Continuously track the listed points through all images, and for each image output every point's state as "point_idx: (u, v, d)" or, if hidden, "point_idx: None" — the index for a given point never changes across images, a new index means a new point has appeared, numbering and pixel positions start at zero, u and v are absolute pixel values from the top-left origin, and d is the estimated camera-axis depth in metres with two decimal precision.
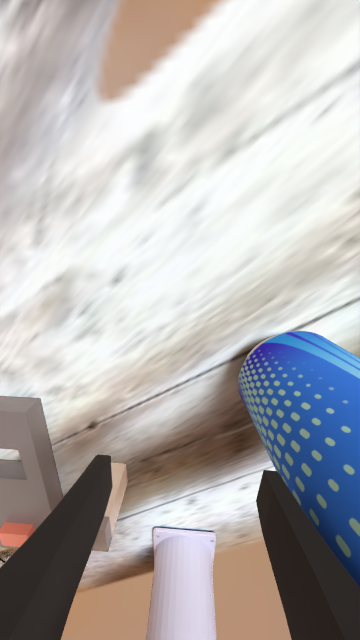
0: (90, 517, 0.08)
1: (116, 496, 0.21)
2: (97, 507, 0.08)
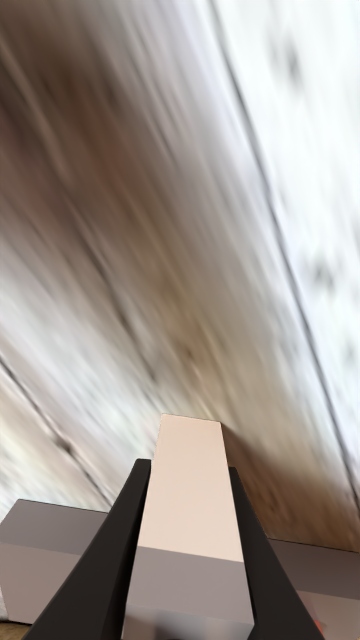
0: (139, 522, 0.08)
1: (158, 478, 0.07)
2: (143, 512, 0.08)
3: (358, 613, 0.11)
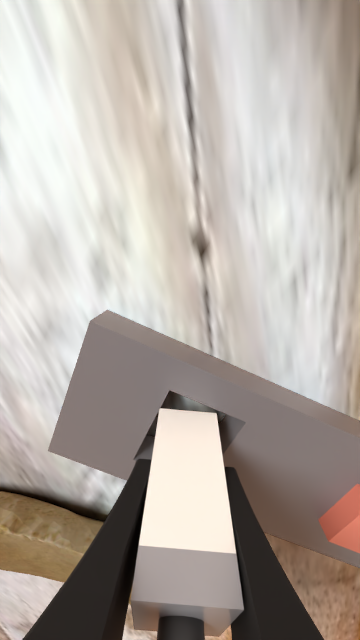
0: (140, 522, 0.08)
1: (157, 477, 0.08)
2: None
3: None
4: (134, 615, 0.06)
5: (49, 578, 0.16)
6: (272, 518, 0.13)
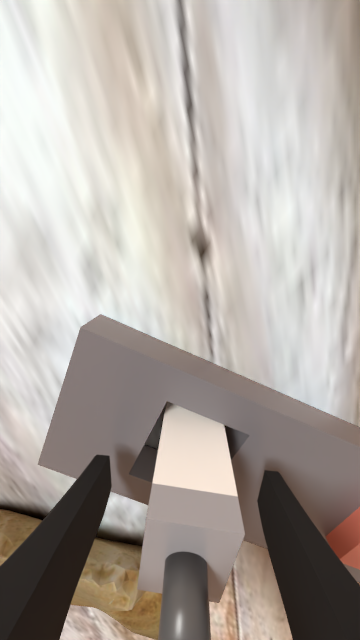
0: (89, 517, 0.08)
1: (167, 439, 0.09)
2: (96, 507, 0.08)
3: None
4: (143, 554, 0.07)
5: None
6: None
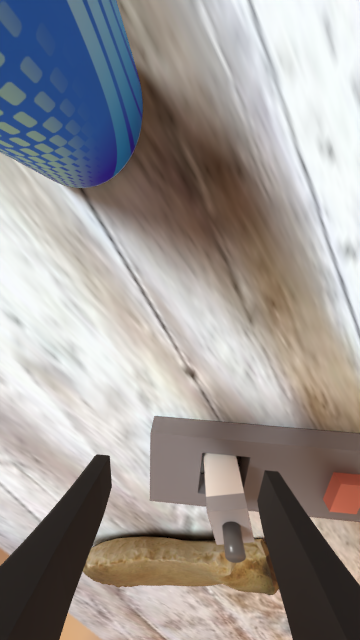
0: (89, 517, 0.08)
1: (208, 472, 0.18)
2: (96, 507, 0.08)
3: None
4: (212, 527, 0.16)
5: (179, 584, 0.25)
6: None
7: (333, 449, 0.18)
